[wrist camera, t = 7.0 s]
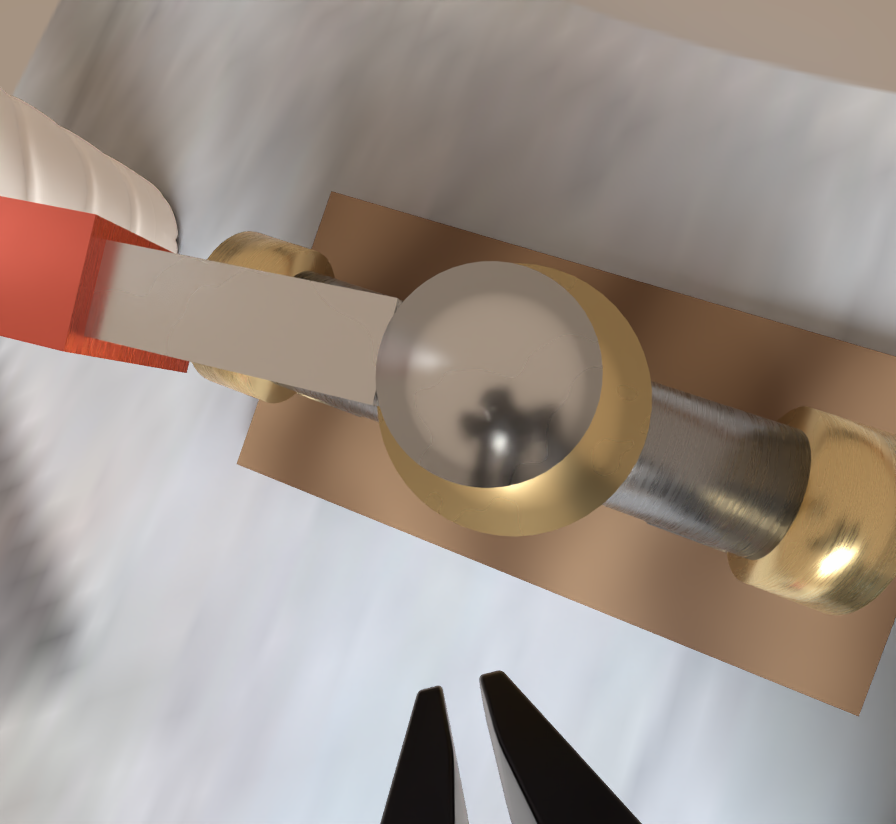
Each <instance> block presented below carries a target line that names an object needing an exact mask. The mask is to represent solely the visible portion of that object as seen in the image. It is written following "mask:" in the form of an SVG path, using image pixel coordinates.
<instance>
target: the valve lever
mask: <svg viewBox="0 0 896 824" xmlns="http://www.w3.org/2000/svg"><path fill="white" fill-rule="evenodd" d="M0 336H3V337H8V338H12V339H16V340H20V341H24V342H28V343H32V344H36V345H40V346H44V347H48V348H52V349H56V350H60V351H65V352H70V353H76V354H82V355H87V356H93V357H99V358H104V359H110V360H116V361H122V362H127V363H133V364H139V365H144V366H150V367H156V368H161V369H167V370H173V371H179V372H184V373H187V369H188V365H189V361H190V362H194V363H198V364H202V365H207V366H211V367H215V368H219V369H223V370H228V371H232V372H236V373H240V374H244V375H248V376H253V377H257V378H261V379H265V380H269V381H273V382H278V383H282V384H286V385H290V386H294V387H299V388H303V389H307V390H311V391H315V392H319V393H324V394H328V395H332V396H336V397H340V398H344V399H349V400H353V401H357V402H361V403H365V404H370V405H374V406H380V409H381V412H382V415H383V418H384V421H385V423H386V425H387V427H388V429H389V430H390V432H391V434H392V436H393V437H394V439H395V440H396V442H397V443H398V444H399V446H400V447H401V448H402V449H403V450H404V451H405V452H406V454H407V455H408V456H409V457H410V458H412V459H413V460H414V461H415V462H416V463H417V464H418V465H420V466H421V467H423V468H424V469H426V470H427V471H429V472H430V473H432V474H434V475H436V476H438V477H440V478H442V479H444V480H447V481H450V482H453V483H456V484H459V485H464V486H470V487H478V488H496V487H505V486H510V485H515V484H519V483H522V482H525V481H528V480H530V479H533V478H535V477H537V476H539V475H541V474H543V473H545V472H547V471H548V470H549V469H551V468H552V467H554V466H555V465H557V464H558V463H559V462H561V461H562V460H563V459H564V458H565V457H566V456H567V455H568V454H569V453H570V452H571V451H572V450H573V449H574V448H575V446H576V445H577V444H578V443H579V442H580V441H581V439H582V437H583V436H584V434H585V433H586V431H587V430H588V428H589V426H590V424H591V422H592V419H593V417H594V415H595V413H596V409H597V406H598V403H599V400H600V394H601V388H602V375H603V366H602V357H601V351H600V347H599V343H598V339H597V336H596V333H595V331H594V328H593V326H592V324H591V322H590V320H589V318H588V317H587V315H586V313H585V311H584V310H583V309H582V307H581V306H580V305H579V303H578V302H577V301H576V299H575V298H574V297H573V296H572V295H571V294H570V293H569V292H568V291H567V290H566V289H565V288H563V287H562V286H561V285H559V284H558V283H557V282H555V281H554V280H553V279H551V278H549V277H548V276H546V275H544V274H542V273H540V272H538V271H536V270H533V269H531V268H528V267H526V266H522V265H518V264H514V263H508V262H500V261H481V262H474V263H467V264H464V265H460V266H457V267H453V268H451V269H448V270H446V271H444V272H441V273H439V274H437V275H436V276H434V277H432V278H430V279H429V280H427V281H426V282H424V283H423V284H422V285H420V286H419V287H418V288H417V289H415V290H414V291H413V292H412V293H411V294H410V295H409V296H408V297H407V298H406V299H405V300H404V301H403V303H402V302H401V301H400V300H399V299H398V298H395V297H390V296H385V295H380V294H375V293H370V292H365V291H360V290H355V289H350V288H345V287H340V286H335V285H330V284H325V283H320V282H315V281H310V280H305V279H300V278H295V277H290V276H285V275H280V274H275V273H270V272H265V271H260V270H255V269H250V268H245V267H240V266H235V265H230V264H225V263H220V262H215V261H210V260H205V259H200V258H195V257H190V256H185V255H180V254H175V253H173V252H171V251H169V250H167V249H165V248H163V247H161V246H159V245H157V244H155V243H153V242H151V241H149V240H147V239H145V238H143V237H141V236H139V235H137V234H135V233H133V232H131V231H129V230H127V229H125V228H123V227H120V226H118V225H116V224H114V223H112V222H110V221H108V220H106V219H104V218H102V217H100V216H98V215H96V214H92V213H87V212H81V211H76V210H71V209H66V208H60V207H55V206H50V205H45V204H40V203H34V202H29V201H24V200H19V199H13V198H8V197H3V196H0Z"/></svg>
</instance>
